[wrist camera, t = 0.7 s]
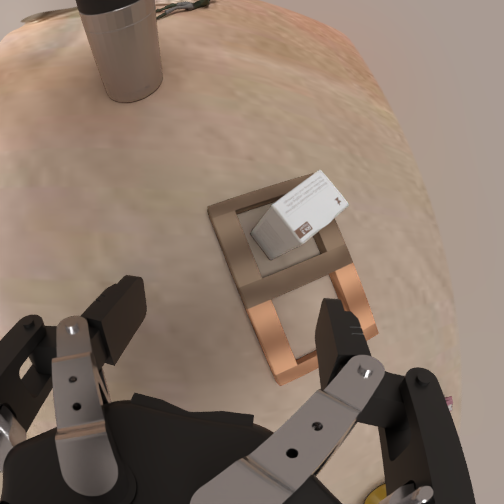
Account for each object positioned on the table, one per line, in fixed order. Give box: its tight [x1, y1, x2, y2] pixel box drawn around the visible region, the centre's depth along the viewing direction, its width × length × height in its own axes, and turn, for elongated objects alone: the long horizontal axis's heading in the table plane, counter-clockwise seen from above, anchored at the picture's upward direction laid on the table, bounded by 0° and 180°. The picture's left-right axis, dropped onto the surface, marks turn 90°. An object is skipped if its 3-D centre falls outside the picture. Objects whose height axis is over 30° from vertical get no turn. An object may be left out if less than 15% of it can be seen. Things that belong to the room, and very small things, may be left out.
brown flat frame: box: [208, 173, 379, 386], centre depth 33 cm, size 22×14×2 cm, turn 22°
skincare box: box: [250, 170, 349, 260], centre depth 29 cm, size 6×4×12 cm
